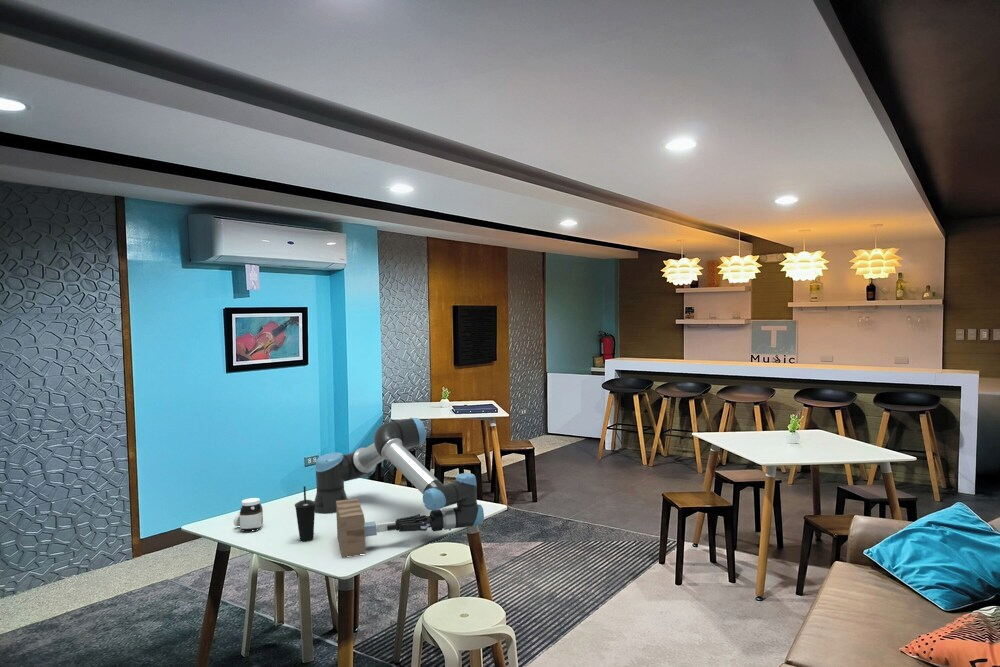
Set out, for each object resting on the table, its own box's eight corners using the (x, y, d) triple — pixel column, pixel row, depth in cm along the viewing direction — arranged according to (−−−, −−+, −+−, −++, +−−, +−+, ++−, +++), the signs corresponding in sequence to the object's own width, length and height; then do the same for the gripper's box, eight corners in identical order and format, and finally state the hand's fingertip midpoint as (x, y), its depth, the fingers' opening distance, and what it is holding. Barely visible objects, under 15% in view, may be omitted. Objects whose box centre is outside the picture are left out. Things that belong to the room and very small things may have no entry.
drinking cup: (297, 544, 234) (294, 490, 234) (294, 538, 241) (292, 485, 241) (318, 541, 237) (316, 487, 237) (315, 535, 244) (313, 483, 244)
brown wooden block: (337, 538, 240) (335, 501, 240) (359, 535, 242) (357, 498, 242) (341, 557, 219) (339, 517, 219) (365, 554, 221) (363, 514, 221)
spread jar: (257, 532, 250) (256, 503, 250) (228, 534, 249) (227, 504, 249) (267, 523, 262) (265, 495, 262) (238, 524, 261) (237, 496, 261)
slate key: (358, 533, 228) (357, 523, 228) (375, 530, 230) (375, 521, 230) (359, 537, 224) (359, 527, 224) (377, 535, 226) (377, 525, 225)
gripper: (446, 535, 229) (380, 544, 222) (438, 524, 241) (375, 533, 234) (445, 514, 229) (379, 522, 222) (437, 504, 241) (374, 512, 234)
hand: (377, 528), depth 228 cm, fingers closed
